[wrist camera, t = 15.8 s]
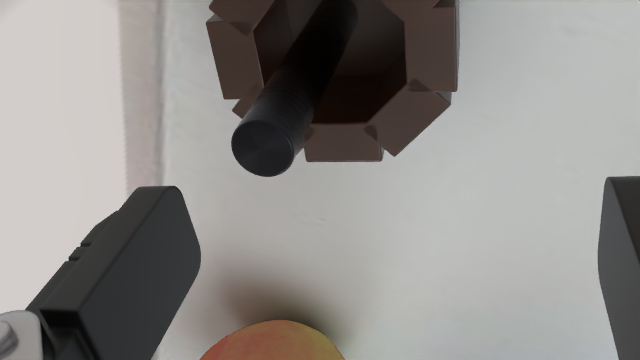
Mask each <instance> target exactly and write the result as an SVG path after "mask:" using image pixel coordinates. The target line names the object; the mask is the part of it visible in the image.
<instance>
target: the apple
mask: <svg viewBox="0 0 640 360" xmlns="http://www.w3.org/2000/svg"><path fill="white" fill-rule="evenodd" d="M200 360H345V359H344V358H343V356H342V355H341V353H340V352H339V351H338V349H337V348H336V346H335V345H334V344H333V343H332V342H331V341H330V340H329V339H328V338H327V337H326V336H325V335H324V334H322V333H321V332H319V331H317V330H315V329H313V328H311V327H308V326H306V325H304V324H301V323H298V322H294V321H288V320H272V321H266V322H261V323H257V324H254V325H250V326H248V327H245V328H242V329H240V330H238V331H236V332H234V333H232V334H230V335H228V336H226V337H225V338H223V339H222V340H220V341H219V342H218V343H216V344H215V345H214V346H213V347H211V348H210V349H209V350H208V351H207V352H206V353H205V354H204V355H203V356H202V357H201V358H200Z"/></svg>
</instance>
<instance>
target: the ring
mask: <svg viewBox="0 0 640 360" xmlns="http://www.w3.org/2000/svg"><path fill="white" fill-rule="evenodd" d="M378 1H380V2H381V3H382V4H383V5H384V6H385V7H386V8H388V9H389V10H390V11H391V12H392V13H393V14H395V15H396V16H397V17H398V18H399V19H400V20H402V21H403V34H404V52H403V53H402V54H401V55H400V56H399V57H398V58H397V59H396V60H395V62H394V63H393V64H392V65H391V66H390V67H389V68H388V69H387V70H386V71H385V72H384V73H383V74H382V75H381V76H364V77H339V78H332V79H331V81H330V83H329V85H328V87H327V89H326V91H325V94H324V96H323V98H322V100H321V102H320V104H319V107H318V109H317V111H316V113H315V115H314V117H313V119H312V122H311V124H310V126H309V128H308V130H307V132H306V134H305V137H304V139H303V141H302V143H301V145H300V147H299V150H298V152H297V154H298V153H299V152H300V151H301V150H302V148H303V147H304V151H305V157H306V161H307V162H380V161H382V159H383V155H384V150H386V151H388V152H389V153H390V154H391V155H393V156H394V157H395V156H396V155H397V154H399V153H400V152H401V151H402V150H403V149H404V148H405V147H406V146H407V145H408V144H409V143H410V142H412V141H413V140H414V139H415V138H416V137H417V136H418V135H419V134H420V133H421V132H422V131H423V130H424V129H426V128H427V127H428V126H429V125H430V124H431V123H432V122H433V121H434V120H435V119H436V118H437V117H438V116H440V115H441V114H442V113H443V112H444V111H445V110H446V109H447V108H448V107H449V106H450V105H451V94H452V92H456V91H457V88H458V68H459V48H460V33H459V0H378ZM209 9H210V10H211V11H212V12H214V13H215V14H214V15H213V16H212V17H211V18H210V19H209V20H208V21H207V22H206V26H207V30H208V34H209V39H210V43H211V47H212V51H213V56H214V60H215V64H216V68H217V72H218V77H219V81H220V85H221V89H222V93H223V98H224V99H239V101H238V102H237V104H236V105H235V106H234V108H233V109H232V111H233V112H234V113H235V114H236V115H238V116H239V117H240V118H242V119H243V118H244V116H245V115H246V113H247V112H248V110H249V109H250V107H251V106H252V104H253V103H254V101H255V100H256V98H257V97H258V95H259V94H260V92H261V91H262V89H263V88H264V86H265V85H266V83H267V82H268V80H269V79H270V77H271V76H272V74H273V73H274V71H275V70H276V68H277V67H278V65H279V64H280V62H281V61H282V59H283V58H284V56H285V55H286V53H287V52H288V50H289V49H290V47H291V46H292V38H291V32H290V26H289V20H288V13H287V7H286V1H285V0H213V1H212V2H211V4H210V5H209ZM297 154H296V155H297Z"/></svg>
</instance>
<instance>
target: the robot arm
mask: <svg viewBox="0 0 640 360" xmlns="http://www.w3.org/2000/svg"><path fill="white" fill-rule="evenodd" d="M200 263H201V251H200V246H199V242H198V239H197V236H196V233H195V230H194V227H193V224H192V222H191V219H190V216H189V213H188V210H187V207H186V204H185V201H184V198H183V195H182V193H181V191H180V190H179V189H178V188H177V187H175V186H149V187H139V188H137V189H136V190H135V191H134V192H133V193H132V194H131V196H130V197H129V198H128V199H127V201H126V202H125V203H124V204H123V206H122V207H121V208H120V209H119V210H118V211H116V212H114V213H113V214H111V215H110V216H108V217H107V218H106V219H104V220H103V221H102V222H100V223H99V224H97V225H96V226H95V227H94V228H93V229H92V230H91V231H90V233H89V234H88V235H87V236H86V237H85V239H84V240H83V241H82V242H81V246H80V247H77V248H76V249H75V250H74V252H73V253H72V254H71V255H70V256H69V261H65V262H64V264H63V265H62V266H61V267H60V268H59V270H58V271H57V272H56V273H55V274H54V276H53V277H52V278H51V279H50V280H49V282H48V283H47V284H46V285H45V286H44V288H43V289H42V290H41V291H40V292H39V294H38V295H37V296H36V297H35V298H34V300H33V301H32V302H31V303H30V304H29V306H28V307H27V308H26V309H25V310H17V311H10V312H6V313H3V314H0V360H151V358H152V357H153V355H154V353H155V351H156V349H157V347H158V346H159V344H160V342H161V340H162V338H163V337H164V335H165V333H166V331H167V329H168V327H169V326H170V324H171V322H172V320H173V318H174V317H175V315H176V313H177V311H178V309H179V307H180V306H181V304H182V302H183V300H184V298H185V297H186V295H187V293H188V291H189V289H190V287H191V286H192V284H193V282H194V280H195V278H196V277H197V274H198V272H199V268H200ZM598 272H599V280H600V285H601V289H602V293H603V297H604V301H605V305H606V309H607V313H608V317H609V321H610V325H611V329H612V333H613V337H614V341H615V345H616V349H617V353H618V357H619V360H640V176H627V177H607V179H606V181H605V186H604V194H603V204H602V214H601V224H600V233H599V243H598Z"/></svg>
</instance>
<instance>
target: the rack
mask: <svg viewBox="0 0 640 360" xmlns="http://www.w3.org/2000/svg"><path fill="white" fill-rule="evenodd" d="M285 1H286V7H287V13H288V20H289V26H290V32H291V38H292V46H291V47H290V49H289V50H288V52H287V53H286V55H285V56H284V58H283V59H282V61H281V62H280V64H279V65H278V67H277V68H276V70H275V71H274V73H273V74H272V76H271V77H270V79H269V80H268V82H267V83H266V85H265V86H264V88H263V89H262V91H261V92H260V94H259V95H258V97H257V98H256V100H255V101H254V103H253V104H252V106H251V107H250V109H249V110H248V112H247V113H246V115H245V116H244V118H243V119H242V121H241V122H240V124H239V125H238V127H237V128H236V130H235V131H234V133H233V136H232V140H231V146H232V151H233V154H234V156H235V158H236V160H237V161H238V163H239V164H240V165H241V166H242V167H243V168H245V169H246V170H247V171H249V172H251V173H253V174H255V175H259V176H264V177H272V176H276V175H279V174H281V173H283V172H285V171H286V170H287V169H288V168H289V167H290V166H291V164H292V162H293V160H294V158H295V156H296V154H297V152H298V150H299V147H300V145H301V143H302V141H303V139H304V137H305V134H306V132H307V130H308V128H309V126H310V124H311V122H312V119H313V117H314V115H315V113H316V111H317V109H318V107H319V104H320V102H321V100H322V98H323V96H324V94H325V91H326V89H327V87H328V85H329V83H330V81H331V79H332V78H339V77H364V76H381V75H382V74H383V73H384V72H385V71H386V70H387V69H388V68H389V67H390V66H391V65H392V64H393V63H394V62H395V60H396V59H397V58H398V57H399V56H400V55H401V54H402V53H403V52H404V34H403V21H402V20H400V19H399V18H398V17H397V16H396V15H395V14H393V13H392V12H391V11H390V10H389V9H388V8H386V7H385V6H384V5H383V4H382V3H381V2H380V1H378V0H285Z"/></svg>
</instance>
